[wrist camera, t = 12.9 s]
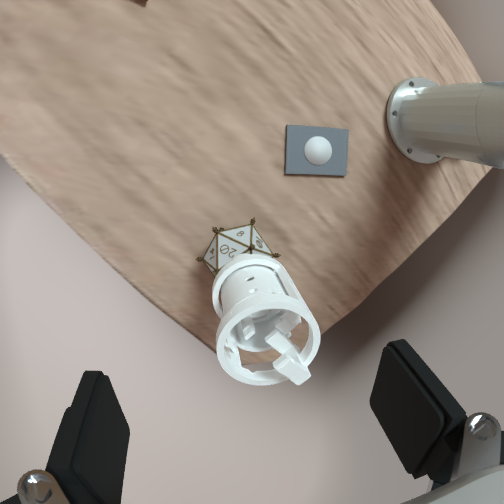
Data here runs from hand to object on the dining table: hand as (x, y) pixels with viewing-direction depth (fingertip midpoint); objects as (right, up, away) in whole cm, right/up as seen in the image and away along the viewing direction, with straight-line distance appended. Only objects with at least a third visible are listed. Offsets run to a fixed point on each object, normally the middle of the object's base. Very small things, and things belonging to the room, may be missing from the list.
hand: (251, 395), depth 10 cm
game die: (-2, +6, +32) cm, 32 cm away
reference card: (+8, +17, +29) cm, 34 cm away
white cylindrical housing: (-1, +3, +24) cm, 24 cm away
